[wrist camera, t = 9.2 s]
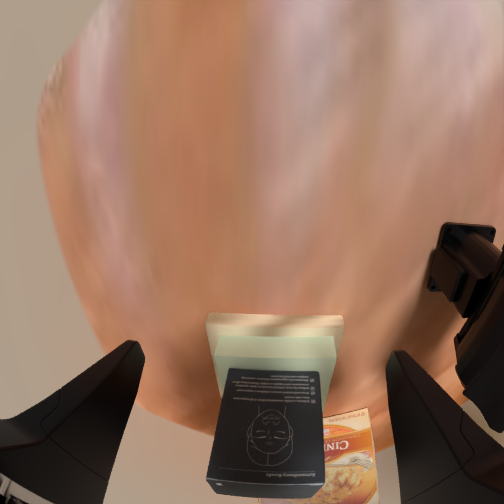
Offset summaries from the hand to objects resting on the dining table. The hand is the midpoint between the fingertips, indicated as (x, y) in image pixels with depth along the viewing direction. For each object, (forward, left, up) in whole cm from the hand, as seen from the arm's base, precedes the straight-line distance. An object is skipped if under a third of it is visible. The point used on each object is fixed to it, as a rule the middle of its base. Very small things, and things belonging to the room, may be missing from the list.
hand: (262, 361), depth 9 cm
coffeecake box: (-7, +32, -13) cm, 35 cm away
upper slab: (0, +15, -11) cm, 19 cm away
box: (0, +14, -9) cm, 17 cm away
